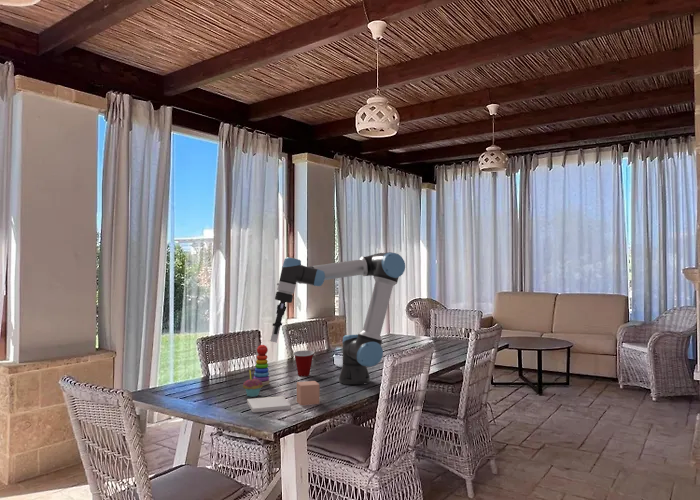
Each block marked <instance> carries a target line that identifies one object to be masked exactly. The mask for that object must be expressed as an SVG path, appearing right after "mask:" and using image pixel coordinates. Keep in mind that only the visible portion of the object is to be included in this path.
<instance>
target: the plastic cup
mask: <svg viewBox="0 0 700 500" xmlns="http://www.w3.org/2000/svg"><path fill="white" fill-rule="evenodd" d="M314 354H315V352H314V350H307V349H305V350H298V351H294V352H293V356H294V359H295V364H296V365H295V366H296V369H297V371H296V372H297V375H298V376H299V377H309V376H310V374H311V368H312V364H313V363H312V362H313V357H314Z"/></svg>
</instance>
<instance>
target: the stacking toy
mask: <svg viewBox="0 0 700 500" xmlns="http://www.w3.org/2000/svg"><path fill="white" fill-rule="evenodd" d="M268 351H269V349H268V347H267V345H265V344H260V345H258V346H257V348H256V352H257V354H258V355H257V356H256V361H255V363H256V364H255V368H254V373H253V374H254V375H253V378H252V379H258V380H260V381H261V382H262V384H263V387H265V386H269V384H270V376H269V375H270V372H269V364H268V362H269V360H268V355H267V353H268Z"/></svg>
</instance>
